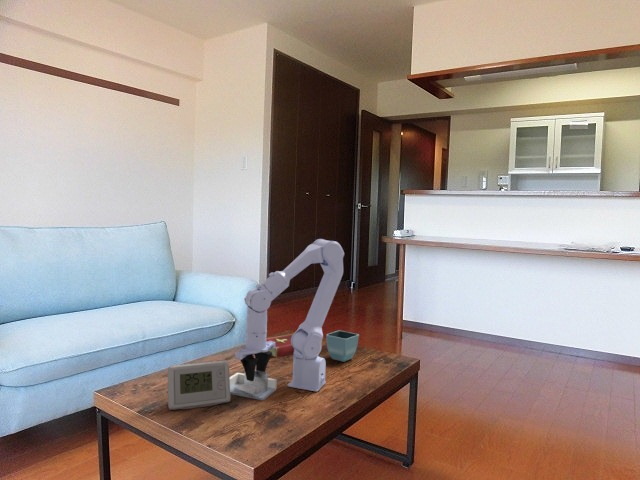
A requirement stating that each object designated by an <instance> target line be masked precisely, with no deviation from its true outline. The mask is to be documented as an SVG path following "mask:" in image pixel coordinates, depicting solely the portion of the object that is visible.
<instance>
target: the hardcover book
mask: <svg viewBox="0 0 640 480" xmlns="http://www.w3.org/2000/svg"><path fill="white" fill-rule="evenodd" d="M293 334H294V333H290V334H285V335H280V336H279V335H278V336H273V337H268V338H267V337H266V342H268V341H273V342H275V349H269V351H270V352H272V356H271V357H274V358H280V357H286V356H291V355H294V348H293V346H292V344H291V338H292V335H293ZM321 346H322V347H323V341H322V342H321ZM322 347H321V349H322Z"/></svg>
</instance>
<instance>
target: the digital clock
mask: <svg viewBox="0 0 640 480" xmlns="http://www.w3.org/2000/svg"><path fill="white" fill-rule="evenodd" d="M229 364H230V363H229V362H228V361H227V360H218V361H214V360H213V361H212V360H211V361H210V360H209V361H202V362H201V361H200V362H192V363H191V362H189V363H184V364H178V365H177V364H176V365H175V364H174V365H170V366H169V367H168V369H167V392H168V393H167V397H168V398H167V399H168V400H167V401H168V402H167V403H168V408H169V410H170V411H173V410H187V409H189V410H190V409H196V408H203V407H204V408H205V407H211V406H212V407H213V406H218V404H225V403H229V402H230V401H231V394H230V378H229V377H230V366H229Z"/></svg>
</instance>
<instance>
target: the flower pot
mask: <svg viewBox="0 0 640 480" xmlns="http://www.w3.org/2000/svg"><path fill="white" fill-rule="evenodd" d="M325 338H326V339H325V341H326V348H327V351H328V355H329V357H330V358H331V359H332V360H334V361H340V362H342V363H343V362H347V361H349V360H351V359H352V358H353V356H354V355H355V354H356V352H357V348H358V344H359V338H360V334H359V333H353V332H349V331H345V330H340V329H339V330H336V331H333V332H330V333H327V334H325Z"/></svg>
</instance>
